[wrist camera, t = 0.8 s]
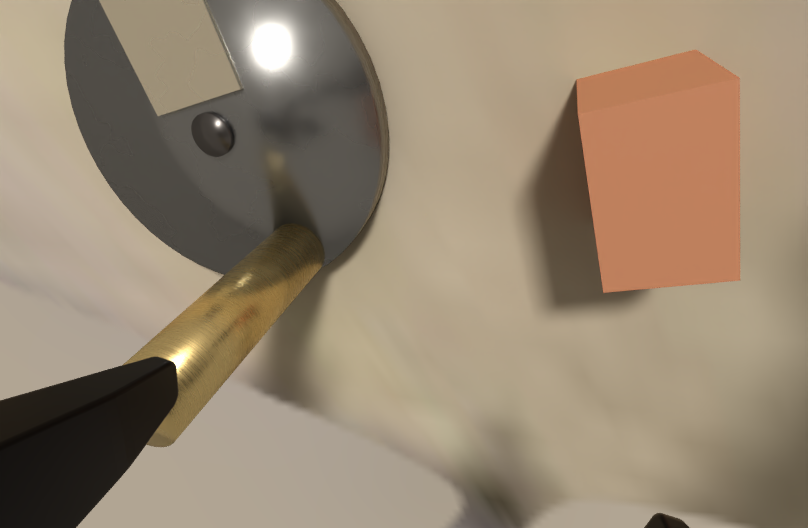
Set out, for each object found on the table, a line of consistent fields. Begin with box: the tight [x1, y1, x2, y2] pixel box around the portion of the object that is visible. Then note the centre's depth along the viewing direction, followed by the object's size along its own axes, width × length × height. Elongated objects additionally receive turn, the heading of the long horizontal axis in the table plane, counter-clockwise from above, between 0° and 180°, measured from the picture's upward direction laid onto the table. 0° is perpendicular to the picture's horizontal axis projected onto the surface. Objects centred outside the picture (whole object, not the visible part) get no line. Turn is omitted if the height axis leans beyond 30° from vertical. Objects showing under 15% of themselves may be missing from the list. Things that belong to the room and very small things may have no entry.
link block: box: [577, 50, 740, 293], centre depth 15 cm, size 4×6×5 cm, turn 18°
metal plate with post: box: [64, 0, 389, 447], centre depth 17 cm, size 14×14×11 cm
